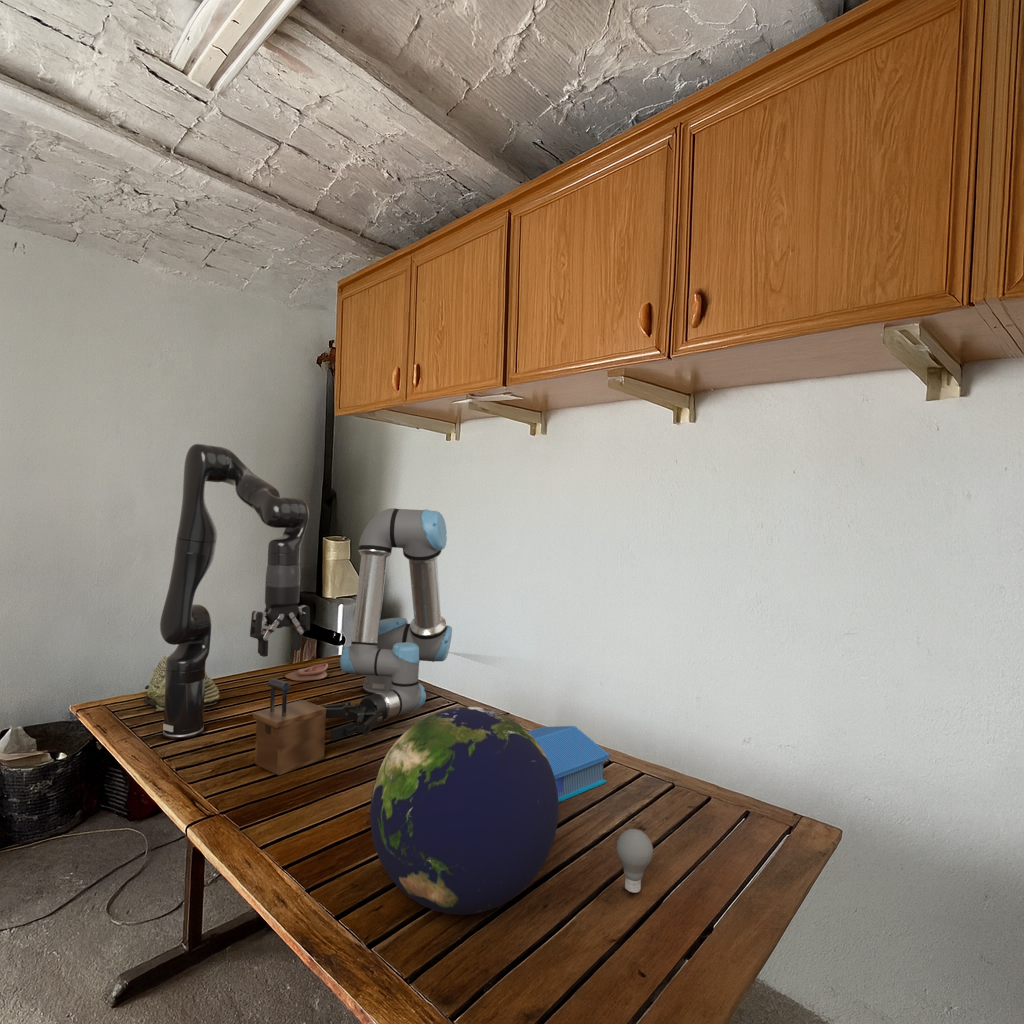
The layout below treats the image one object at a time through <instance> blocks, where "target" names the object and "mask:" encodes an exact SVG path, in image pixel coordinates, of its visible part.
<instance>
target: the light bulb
mask: <svg viewBox="0 0 1024 1024" xmlns="http://www.w3.org/2000/svg"><path fill="white" fill-rule="evenodd" d="M615 849H616V854H617V857H618V859H619V861H620V863H621V865H622V867H623V873H624V874H623V875H624V876H625V878H624V888H625V890H627V891H628V892H630V893H634V894H635V893H639V892H640V891H641V889H642V887H641V886H642V879H643V877H644V875H645V871H646V868H647V867H648V866H649V864H650V863H651V861H652V859H653V855H654V847H653V843H652V841H651V838H649V836H648V835H647V834H646V833H645V832H643V831H642V830H641V829H636V828H629V829H627V830H625V831H623V832H622V833H621V834H620V835H619V837H618V839H617V841H616V847H615Z"/></svg>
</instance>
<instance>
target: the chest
mask: <svg viewBox="0 0 1024 1024" xmlns="http://www.w3.org/2000/svg"><path fill="white" fill-rule="evenodd" d="M326 722H327V719H326V714H322V715H319V716H315V717H312V718H309V719H306V720H302V721H299V722H296V723H292V724H289V725H286V726H282V727H279V728H275V727H273V726H271V725H268V724H266V723H263V722H261V721H258V720H256V719H255V725H256V726H255V749H254V764H255V765H257V766H259V767H260V768H263V769H265V770H267V771H269V772H271V773H272V774H275V775H277V776H281V775H284V774H287V773H289V772H292V771H295V770H297V769H301V768H304V767H306V766H309V765H311V764H314V763H316V762H319V761H322V760H324V759H325V751H326Z"/></svg>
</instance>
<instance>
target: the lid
mask: <svg viewBox="0 0 1024 1024" xmlns="http://www.w3.org/2000/svg"><path fill="white" fill-rule="evenodd" d="M267 686H268V687H269V688H270V704H269V706H270V707H269V708H265V709H262V710H258V711H255V712H252V719H253V720H255V721H256V720H258V721H261V722H263V723H266V724H268V725H271V726H273V727H275V728H279V727H282V726H286V725H289V724H292V723H296V722H299V721H302V720H306V719H309V718H312V717H315V716H319V715H322V714H325V713H326V708H324V707H321V705H318V704H317V703H316V704H315V703H313V702H310V701H307V700H304V699H299V700H295V701H292V702H288V703H287V698H288V692H289V690H290V689H291V684H290V683H289V682H287V681H285V680H281V679H278V678H275V677H271V678H270V679H268V681H267ZM276 690H277V691H280V692H282V696H281V697H282V700H281V704H280V705H277V706H275V699H276Z"/></svg>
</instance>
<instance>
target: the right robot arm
mask: <svg viewBox="0 0 1024 1024" xmlns="http://www.w3.org/2000/svg"><path fill="white" fill-rule="evenodd" d="M447 538H448V537H447V524H446V520H445V518H444V515H443V514H442V513H441V512H440V511H437V510H430V509H427V508H426V509H410V508H409V509H407V508H394V507H393V508H386V509H383V510H382V511H380V512H378V513H377V514H375V516H373V517H372V518H371V520H370V521H369V522H368V523H367V524H366V526H365V527H364V530H363V531H362V533H361V536H360V539H359V543H358V553H359V555H360V565H359V575H358V580H357V589H356V590H357V591H356V599H355V607H354V615H353V625H352V633H351V643H350V646H345V647H344V648H343V649H342V651H341V655H340V659H339V664H340V665H339V666H340V669H341V671H342V672H343V673H345V674H348V675H349V674H351V675H356V676H360V675H363V676H365V678H364V680H363V684H362V691H363V692H364V693H366V694H368V695H366V696H364V697H363V698H362V699H361V700H360V701H359V703H354V704H351V701H345V702H341V703H331V704H324V705H323V704H322V705H320V706H321V707H324V708H326V713H325V714H326V720H327V719H342V720H344V721H347V720H350V721H351V720H352V722H349V723H346V724H343V725H340V726H337V727H333V728H331V729H330V741H331V742H335V741H337V740H340V739H344V738H346V737H348V736H352V735H354V734H355V735H359V734H361V735H362V736H367V735H368V734H369V733H370V732H371V731H373V729H374V728H375V727H376V726H378V725H381V724H382V723H383V721H386V722H387V721H388V720H389V719H392V718H395V717H398V716H401V715H404V714H407V713H410V712H411V713H412V712H414V711H416V710H418V709H419V708H421V707H423V705H425V703H426V699H427V693H426V691H425V687H424V685H423V684H422V683H420V682H419V672H420V662H421V661H423V662H431V663H435V662H444V661H445V660H447V658H448V655H449V651H450V647H451V641H452V636H453V627H452V626H450V625H447V620H446V618H445V617H443V616H442V614H441V613H442V612H441V598H440V597H441V596H440V581H439V567H438V566H439V565H438V557H439V556H440V555H441V554H442V551H443V550H445V548H446V545H447V540H448V539H447ZM393 548H395V549H402V553H403V557H404V558H406V559H407V560H408V566H409V574H410V575H409V577H410V589H411V598H412V599H411V600H412V610H413V618H412V619H411V621H410V623H409V622H408V619H407V618H406V617H390V618H383V619H382V609H383V599H384V593H385V592H384V590H385V583H386V572H387V563H388V559H389V557H391V556H392V551H393ZM353 721H354V722H353Z"/></svg>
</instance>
